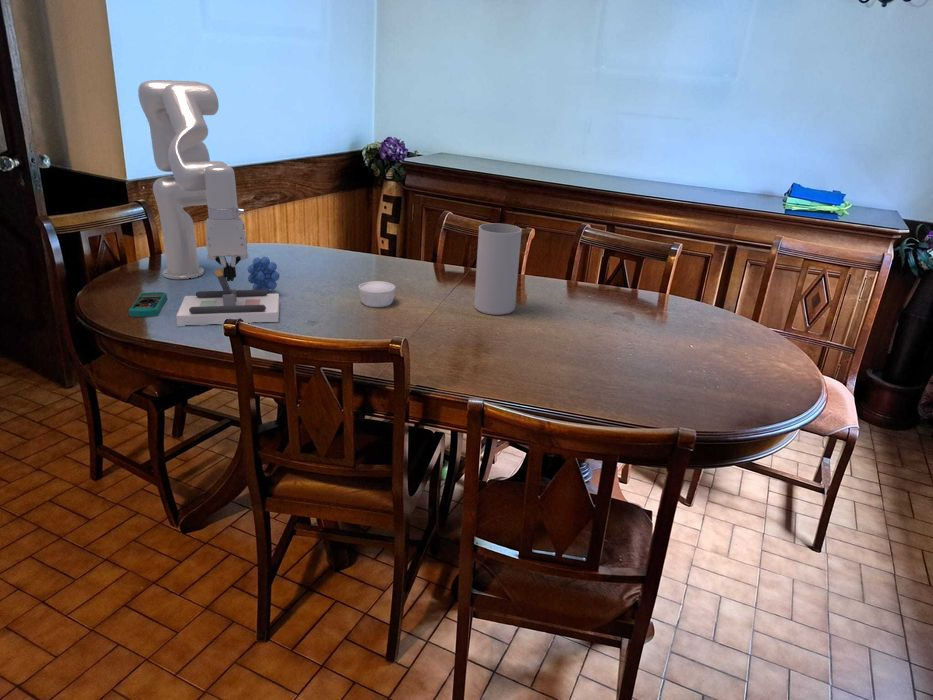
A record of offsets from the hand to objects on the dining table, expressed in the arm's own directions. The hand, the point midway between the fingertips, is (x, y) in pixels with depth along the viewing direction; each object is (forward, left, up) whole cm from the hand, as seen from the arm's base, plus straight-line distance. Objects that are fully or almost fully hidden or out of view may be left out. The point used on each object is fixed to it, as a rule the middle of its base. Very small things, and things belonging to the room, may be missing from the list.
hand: (230, 279), depth 180 cm
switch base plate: (-1, -1, -10) cm, 10 cm away
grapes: (-19, +8, -11) cm, 23 cm away
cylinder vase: (+2, +76, -11) cm, 77 cm away
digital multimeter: (-8, -24, -11) cm, 27 cm away
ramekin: (-7, +41, -11) cm, 43 cm away
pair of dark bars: (-1, -1, -7) cm, 7 cm away
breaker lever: (-1, 0, -6) cm, 7 cm away
